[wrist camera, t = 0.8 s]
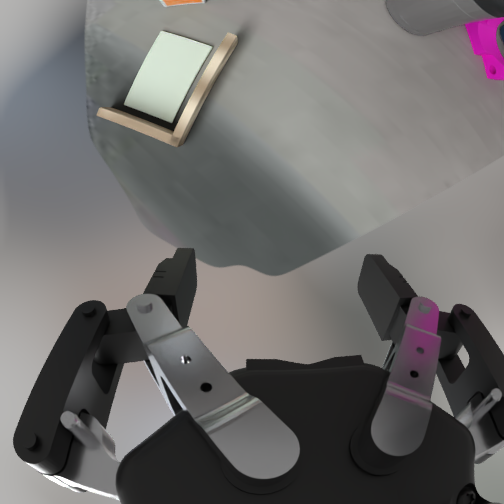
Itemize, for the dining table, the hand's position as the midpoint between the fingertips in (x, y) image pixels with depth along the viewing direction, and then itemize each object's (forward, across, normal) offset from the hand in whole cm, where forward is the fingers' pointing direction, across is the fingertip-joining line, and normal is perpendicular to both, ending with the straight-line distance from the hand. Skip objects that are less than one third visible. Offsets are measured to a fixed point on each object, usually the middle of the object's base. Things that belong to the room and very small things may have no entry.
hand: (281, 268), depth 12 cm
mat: (+27, +13, -13) cm, 33 cm away
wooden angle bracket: (+27, +13, -13) cm, 33 cm away
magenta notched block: (+28, -40, -31) cm, 58 cm away
